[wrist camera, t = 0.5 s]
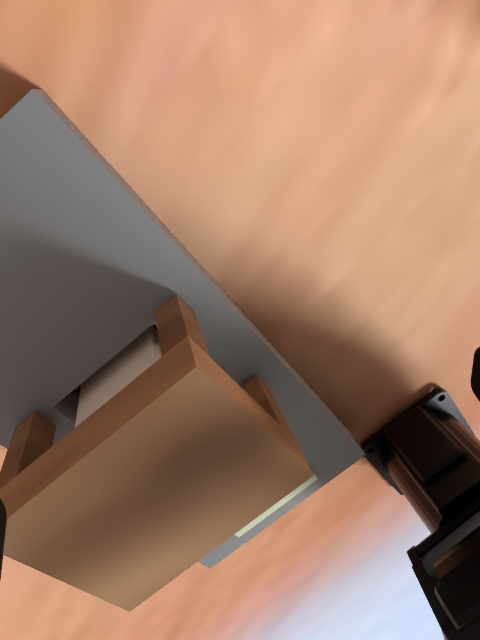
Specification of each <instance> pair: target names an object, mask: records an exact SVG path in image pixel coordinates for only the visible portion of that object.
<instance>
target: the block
mask: <svg viewBox="0 0 480 640" xmlns="http://www.w3.org/2000/svg"><path fill="white" fill-rule="evenodd" d="M160 358H161V350H160V344H159V337H158V331H157V330H156V329H154V328H153V327H152V326H150V327H149V328H148V329H147V330H145V331H144V332H143V333H142V334H140V335H139V336H138V337H137V338H136V339H134V340H133V341H132V342H131V343H130V344H128V345H127V346H126V347H125V348H124V349H122V350H121V351H120V352H119V353H118V354H116V355H115V356H114V357H113V358H112V359H110V360H109V361H108V362H107V363H106V364H104V365H103V366H102V367H101V368H100V369H98V370H97V371H96V372H95V373H94V374H92V375H91V376H90V377H89V378H87V379H86V380H85V381H84V382H83V383H81V389H80V396H79V402H78V409H77V416H76V423H75V427H77V426H78V425H79V424H80V423H81V422H83V421H84V420H85V419H86V418H88V417H89V416H90V415H91V414H93V413H94V412H95V411H96V410H97V409H99V408H100V407H101V406H102V405H104V404H105V403H106V402H107V401H108V400H110V399H111V398H112V397H113V396H115V395H116V394H117V393H118V392H119V391H121V390H122V389H123V388H124V387H126V386H127V385H128V384H129V383H130V382H132V381H133V380H134V379H135V378H137V377H138V376H139V375H140V374H141V373H143V372H144V371H145V370H146V369H148V368H149V367H150V366H151V365H153V364H154V363H155V362H156V361H157V360H159V359H160Z"/></svg>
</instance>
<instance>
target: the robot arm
mask: <svg viewBox="0 0 480 640" xmlns="http://www.w3.org/2000/svg"><path fill="white" fill-rule="evenodd" d="M471 387H472V390H473V392H474V394H475V396H476V397H477V398H478V400H479V401H480V347H478V348H477V349H476V351H475V353H474V359H473V367H472V375H471ZM361 448H362V450H363V451H364V453H365V454H366V455H365V456H366V457H367V458H368V460H369V461H370V462H371V463H372V464H373V465H374V466H375V467H376V468H377V469H378V471H379V472H380V473H381V474H382V475H383V476H384V477H385V478H386V479H387V480H388V481H389V483H390V484H391V485H392V486H393V487H394V488H395V489H396V490H397V491H398V492H399V494H401V495H405V497H406V498H407V500H408V501H409V503H410V504H411V505H412V507H413V508H414V510H415V511H416V512H417V514H418V515H419V517H420V518H421V519H422V521H423V522H424V524H425V525H426V527H427V528H428V529H429V531H430V532H431V535H429V536H428V537H427V538H426V539H424V540H423V541H422V542H421V543H419V544H418V545H417V546H416V547H415V546H413V547H412V548H410V549H409V550H408V551H407V554H408V556H409V558H410V560H411V562H412V565H413V566H412V568H413V570H414V573H415V575H416V577H417V579H418V581H419V583H420V585H421V587H422V589H423V591H424V594H425V596H426V598H427V600H428V602H429V604H430V606H431V608H432V610H433V612H434V615H435V617H436V619H437V621H438V623H439V625H440V627H441V629H442V632H443V636H444V639H445V640H480V440H478V439H477V438H476V436H475V435H474V433H473V431H472V430H471V428H470V427H469V425H468V424H467V422H466V420H465V419H464V417H463V416H462V414H461V413H460V411H459V409H458V408H457V406H456V405H455V403H454V402H453V400H452V398H451V397H450V395H449V394H448V393H447V392H446V391H445V390H444V389H443V388H437V389H436V390H434V391H433V392H431V393H430V394H429V395H427V396H426V397H424V398H423V399H422V400H420V401H419V402H418V403H416V404H415V405H414V406H412V407H411V408H410V409H408V410H407V411H406V412H404V413H403V414H401V415H400V416H399V417H397V418H396V419H395V420H393V421H392V422H391V423H389V424H388V425H387V426H385V427H384V428H382V429H381V430H380V431H378V432H377V433H376V434H374V435H373V436H372V437H370V438H369V439H368V440H366V441H365V442H364V443H363V444H362V445H361ZM6 524H7V512H6V508H5V505H4V503H3V501H2V500H1V498H0V579H1V570H2V561H3V552H4V542H5V533H6Z"/></svg>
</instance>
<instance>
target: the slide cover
mask: <svg viewBox="0 0 480 640" xmlns="http://www.w3.org/2000/svg"><path fill="white" fill-rule="evenodd" d="M155 317H156V323H157V330H158V337H159V344H160V350H161V358H160V359H159V360H157V361H156V362H155V363H154V364H153V365H151V366H150V367H149V368H148V369H146V370H145V371H144V372H143V373H141V374H140V375H139V376H138V377H137V378H135V379H134V380H133V381H132V382H130V383H129V384H128V385H127V386H126V387H124V388H123V389H122V390H121V391H119V392H118V393H117V394H116V395H115V396H113V397H112V398H111V399H110V400H108V401H107V402H106V403H105V404H104V405H102V406H101V407H100V408H99V409H97V410H96V411H95V412H94V413H93V414H91V415H90V416H89V417H88V418H86V419H85V420H84V421H83V422H81V423H80V424H79V425H78V426H77V427H75V428H74V429H73V430H72V431H70V432H69V433H68V434H67V435H66V436H64V437H63V438H62V439H61V440H59V441H58V442H57V443H56V444H55V445H53V440H54V435H55V430H56V425H55V424H54V423H52V422H51V421H49V420H48V419H46V418H45V417H43V416H42V415H40V414H39V413H37V412H36V411H34V412H33V413H31V414H30V415H29V416H28V417H27V418H25V419H24V420H23V421H22V422H21V423H19V424H18V425H17V426H16V427H15V429H14V432H13V435H12V438H11V441H10V444H9V447H8V450H7V453H6V457H5V460H4V463H3V466H2V469H1V472H0V498H1V500H2V501H3V503H4V505H5V508H6V512H7V524H6V533H5V542H4V552H3V555H5V556H7V557H10V558H12V559H14V560H16V561H18V562H21V563H23V564H25V565H27V566H30V567H32V568H34V569H36V570H38V571H41V572H43V573H45V574H47V575H50V576H52V577H54V578H56V579H58V580H61V581H63V582H65V583H67V584H69V585H72V586H74V587H76V588H78V589H81V590H83V591H85V592H87V593H89V594H92V595H94V596H96V597H98V598H101V599H103V600H105V601H107V602H109V603H112V604H114V605H116V606H118V607H121V608H123V609H125V610H127V611H129V612H130V611H131V610H133V609H134V608H135V607H137V606H138V605H139V604H141V603H142V602H144V601H145V600H146V599H148V598H149V597H150V596H152V595H153V594H154V593H156V592H157V591H158V590H160V589H161V588H162V587H164V586H165V585H167V584H168V583H169V582H171V581H172V580H173V579H175V578H176V577H177V576H179V575H180V574H181V573H183V572H184V571H185V570H187V569H188V568H190V567H191V566H192V565H194V564H195V563H196V562H198V561H199V560H200V559H202V558H203V557H204V556H206V555H207V554H208V553H210V552H211V551H212V550H214V549H215V548H217V547H218V546H219V545H221V544H222V543H223V542H225V541H226V540H227V539H229V538H230V537H231V536H233V535H234V534H235V533H237V532H238V531H240V530H241V529H242V528H244V527H245V526H246V525H248V524H249V523H250V522H252V521H253V520H254V519H256V518H257V517H258V516H260V515H261V514H263V513H264V512H265V511H267V510H268V509H269V508H271V507H272V506H273V505H275V504H276V503H277V502H279V501H280V500H281V499H283V498H284V497H285V496H287V495H288V494H290V493H291V492H292V491H294V490H295V489H296V488H298V487H299V486H300V485H302V484H303V483H304V482H306V481H307V480H308V479H310V478H311V477H313V476H314V475H313V473H312V471H311V469H310V467H309V465H308V463H307V461H306V459H305V457H304V455H303V454H302V452H301V450H300V448H299V446H298V444H297V442H296V440H295V438H294V436H293V434H292V432H291V430H290V428H289V426H288V424H287V422H286V420H285V418H284V416H283V414H282V412H281V410H280V408H279V406H278V404H277V402H276V400H275V398H274V396H273V394H272V392H271V390H270V388H269V387H268V386H267V385H266V384H265V383H264V382H263V381H262V380H261V379H260V378H259V377H258V376H257V375H256V374H255V375H254V376H252V377H251V378H250V379H248V380H247V381H246V382H245V383H243V384H242V385H241V386H239V385H238V384H237V383H236V382H235V381H234V380H233V379H232V378H231V377H230V376H229V375H228V374H227V373H226V372H225V371H224V370H223V369H222V368H221V367H220V366H219V365H218V364H217V363H216V362H215V361H214V360H213V359H212V358H210V356H209V353H208V350H207V347H206V344H205V341H204V338H203V335H202V332H201V329H200V326H199V323H198V320H197V317H196V314H195V312H194V311H193V310H192V308H191V307H190V306H189V305H188V304H187V303H186V302H185V301H184V300H183V299H182V298H181V297H180V296H179V295H178V294H177V293H175V294H174V295H173V296H172V297H171V298H169V299H168V300H167V301H166V302H165V303H163V304H162V305H161V306H160V307H159V308H157V309H156V310H155ZM52 445H53V446H52Z"/></svg>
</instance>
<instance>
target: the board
mask: <svg viewBox="0 0 480 640" xmlns="http://www.w3.org/2000/svg"><path fill="white" fill-rule="evenodd" d="M175 293H177V294H178V295H179V296H180V297H181V298H182V299H183V300H184V301H185V302H186V303H187V304H188V305H189V306H190V307H191V308H192V310H193V311H194V312H195V314H196V317H197V320H198V323H199V326H200V329H201V332H202V335H203V338H204V341H205V344H206V347H207V350H208V353H209V356H210V358H212V359H213V360H214V361H215V362H216V363H217V364H218V365H219V366H220V367H221V368H222V369H223V370H224V371H225V372H226V373H227V374H228V375H229V376H230V377H231V378H232V379H233V380H234V381H235V382H236V383H237V384H238V385H239V386H241V385H242V384H243V383H245V382H246V381H247V380H248V379H250V378H251V377H252V376H254V375H255V374H256V375H257V376H258V377H259V378H260V379H261V380H262V381H263V382H264V383H265V384H266V385H267V386H268V387H269V388H270V390H271V392H272V394H273V396H274V398H275V400H276V402H277V404H278V406H279V408H280V410H281V412H282V414H283V416H284V418H285V420H286V422H287V424H288V426H289V428H290V430H291V432H292V434H293V436H294V438H295V440H296V442H297V444H298V446H299V448H300V450H301V452H302V454H303V455H304V457H305V459H306V461H307V463H308V465H309V467H310V469H311V471H312V473H313V475H314V476H313V477H311V478H310V479H308V480H307V481H306V482H304V483H303V484H302V485H300V486H299V487H298V488H296V489H295V490H294V491H292V492H291V493H290V494H288V495H287V496H285V497H284V498H283V499H281V500H280V501H279V502H277V503H276V504H275V505H273V506H272V507H271V508H269V509H268V510H267V511H265V512H264V513H263V514H261V515H260V516H258V517H257V518H256V519H254V520H253V521H252V522H250V523H249V524H248V525H246V526H245V527H244V528H242V529H241V530H240V531H238V532H237V533H235V534H234V535H233V536H231V537H230V538H229V539H227V540H226V541H225V542H223V543H222V544H221V545H219V546H218V547H217V548H215V549H214V550H212V551H211V552H210V553H208V554H207V555H206V556H204V557H203V558H202V559H200V560H199V561H198V562H200V563H202V564H203V565H205V566H207V567H208V568H210V569H211V568H212V567H213V566H215V565H216V564H217V563H219V562H220V561H221V560H223V559H224V558H226V557H227V556H228V555H230V554H231V553H232V552H234V551H235V550H236V549H238V548H239V547H241V546H242V545H243V544H245V543H246V542H247V541H249V540H250V539H251V538H253V537H254V536H256V535H257V534H258V533H260V532H261V531H262V530H264V529H265V528H266V527H268V526H269V525H271V524H272V523H273V522H275V521H276V520H277V519H279V518H280V517H281V516H283V515H284V514H286V513H287V512H288V511H290V510H291V509H292V508H294V507H295V506H296V505H298V504H299V503H300V502H302V501H303V500H305V499H306V498H307V497H309V496H310V495H311V494H313V493H314V492H315V491H317V490H318V489H320V488H321V487H322V486H324V485H325V484H326V483H328V482H329V481H330V480H332V479H333V478H335V477H336V476H337V475H339V474H340V473H341V472H343V471H344V470H345V469H347V468H348V467H350V466H351V465H352V464H354V463H355V462H356V461H358V460H359V459H360V458H362V457H363V456H365V455H366V454H365V453H364V451H363V450H362V448H361V447H360V446H359V444H358V443H357V441H356V440H355V438H354V437H353V435H352V434H351V432H350V431H349V430H348V429H347V428H346V427H345V426H344V424H343V423H342V422H341V421H340V420H339V419H338V418H337V417H336V416H335V414H334V413H333V412H332V411H331V410H330V409H329V408H328V407H327V406H326V404H325V403H324V402H323V401H322V400H321V399H320V398H319V397H318V396H317V394H316V393H315V392H314V391H313V390H312V389H311V388H310V387H309V386H308V384H307V383H306V382H305V381H304V380H303V379H302V378H301V377H300V375H299V374H298V373H297V372H296V371H295V370H294V369H293V368H292V367H291V365H290V364H289V363H288V362H287V361H286V360H285V359H284V358H283V357H282V355H281V354H280V353H279V352H278V351H277V350H276V349H275V348H274V347H273V345H272V344H271V343H270V342H269V341H268V340H267V339H266V338H265V337H264V335H263V334H262V333H261V332H260V331H259V330H258V329H257V328H256V326H255V325H254V324H253V323H252V322H251V321H250V320H249V319H248V318H247V316H246V315H245V314H244V313H243V312H242V311H241V310H240V309H239V308H238V306H237V305H236V304H235V303H234V302H233V301H232V300H231V299H230V298H229V296H228V295H227V294H226V293H225V292H224V291H223V290H222V289H221V288H220V286H219V285H218V284H217V283H216V282H215V281H214V280H213V279H212V278H211V276H210V275H209V274H208V273H207V272H206V271H205V270H204V269H203V267H202V266H201V265H200V264H199V263H198V262H197V261H196V260H195V259H194V257H193V256H192V255H191V254H190V253H189V252H188V251H187V250H186V249H185V247H184V246H183V245H182V244H181V243H180V242H179V241H178V240H177V239H176V237H175V236H174V235H173V234H172V233H171V232H170V231H169V230H168V229H167V227H166V226H165V225H164V224H163V223H162V222H161V221H160V220H159V218H158V217H157V216H156V215H155V214H154V213H153V212H152V211H151V210H150V208H149V207H148V206H147V205H146V204H145V203H144V202H143V201H142V200H141V198H140V197H139V196H138V195H137V194H136V193H135V192H134V191H133V190H132V188H131V187H130V186H129V185H128V184H127V183H126V182H125V181H124V180H123V178H122V177H121V176H120V175H119V174H118V173H117V172H116V171H115V169H114V168H113V167H112V166H111V165H110V164H109V163H108V162H107V161H106V159H105V158H104V157H103V156H102V155H101V154H100V153H99V152H98V151H97V149H96V148H95V147H94V146H93V145H92V144H91V143H90V142H89V141H88V139H87V138H86V137H85V136H84V135H83V134H82V133H81V132H80V131H79V129H78V128H77V127H76V126H75V125H74V124H73V123H72V122H71V121H70V119H69V118H68V117H67V116H66V115H65V114H64V113H63V112H62V110H61V109H60V108H59V107H58V106H57V105H56V104H55V103H54V102H53V100H52V99H51V98H50V97H49V96H48V95H47V94H46V93H45V92H44V90H43V89H34V88H33V89H32V90H30V91H29V92H28V93H27V94H26V95H25V96H24V97H23V98H22V99H21V100H20V101H19V102H18V103H17V104H16V105H15V106H14V107H13V108H11V109H10V110H9V111H8V112H7V113H6V114H5V115H4V116H3V117H2V118H1V119H0V445H2V446H4V447H5V448H7V449H8V447H9V444H10V441H11V438H12V435H13V432H14V429H15V427H16V426H17V425H18V424H19V423H21V422H22V421H23V420H24V419H25V418H27V417H28V416H29V415H30V414H31V413H33V412H34V411H36V412H37V413H39V414H40V415H42V416H43V417H45V418H46V419H48V420H49V421H51V422H52V423H54V424H55V425H56V430H55V435H54V440H53V445H55V444H56V443H57V442H58V441H59V440H61V439H62V438H63V437H64V436H66V435H67V434H68V433H69V432H70V431H72V430H73V429H74V428H75V423H76V416H77V409H78V402H79V397H78V396H77V395H75V394H74V393H73V392H72V391H73V390H74V389H75V388H77V387H78V386H79V385H80V384H81V383H83V382H84V381H85V380H86V379H87V378H89V377H90V376H91V375H92V374H94V373H95V372H96V371H97V370H98V369H100V368H101V367H102V366H103V365H104V364H106V363H107V362H108V361H109V360H110V359H112V358H113V357H114V356H115V355H116V354H118V353H119V352H120V351H121V350H122V349H124V348H125V347H126V346H127V345H128V344H130V343H131V342H132V341H133V340H134V339H136V338H137V337H138V336H139V335H140V334H142V333H143V332H144V331H145V330H147V329H148V328H149V327H150V326H151V325H153V324H154V325H155V326H157V323H156V317H155V310H156V309H157V308H159V307H160V306H161V305H162V304H163V303H165V302H166V301H167V300H168V299H169V298H171V297H172V296H173V295H174V294H175ZM53 445H52V446H53Z"/></svg>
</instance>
